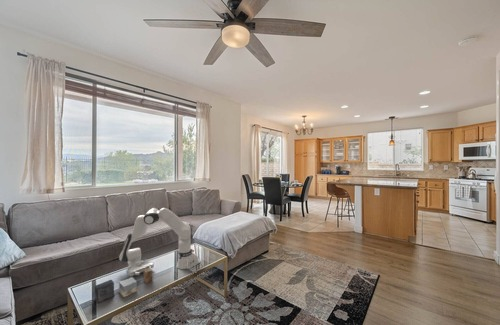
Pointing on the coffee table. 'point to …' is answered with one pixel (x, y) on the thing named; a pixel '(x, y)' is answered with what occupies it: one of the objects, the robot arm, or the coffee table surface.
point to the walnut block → (147, 275)
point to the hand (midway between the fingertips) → (144, 272)
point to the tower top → (128, 284)
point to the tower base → (127, 292)
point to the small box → (104, 291)
